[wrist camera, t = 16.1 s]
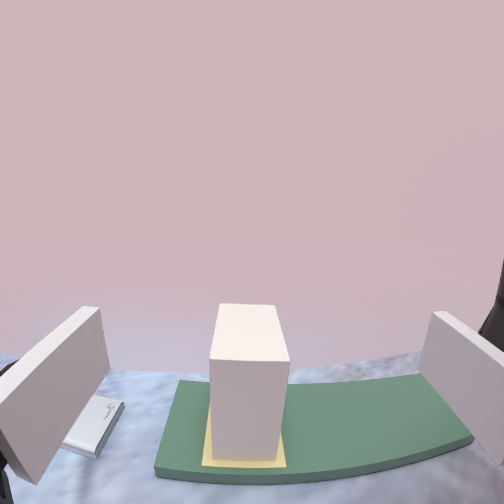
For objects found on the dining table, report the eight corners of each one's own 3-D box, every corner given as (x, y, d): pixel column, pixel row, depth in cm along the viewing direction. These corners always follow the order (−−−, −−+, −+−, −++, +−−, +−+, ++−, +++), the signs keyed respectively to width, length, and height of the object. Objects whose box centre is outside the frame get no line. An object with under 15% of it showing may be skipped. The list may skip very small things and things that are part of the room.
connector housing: (266, 391, 30) (274, 305, 28) (275, 460, 20) (290, 361, 18) (219, 390, 30) (220, 303, 28) (212, 459, 20) (209, 358, 18)
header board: (420, 382, 32) (432, 345, 31) (471, 442, 20) (493, 401, 19) (180, 390, 31) (177, 349, 30) (156, 476, 19) (145, 433, 18)
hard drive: (123, 399, 27) (33, 375, 27) (94, 452, 19) (-4, 412, 18) (125, 411, 27) (37, 386, 27) (98, 463, 19) (1, 424, 19)
